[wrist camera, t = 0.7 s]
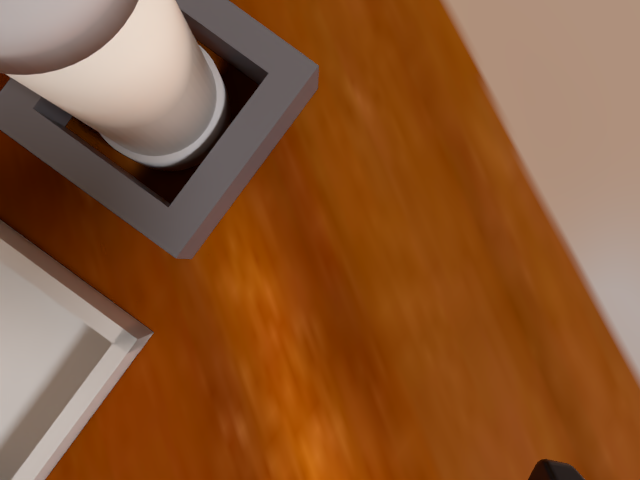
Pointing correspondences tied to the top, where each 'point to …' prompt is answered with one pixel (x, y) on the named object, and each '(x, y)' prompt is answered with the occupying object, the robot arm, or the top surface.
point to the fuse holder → (220, 164)
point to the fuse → (120, 74)
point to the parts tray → (53, 356)
